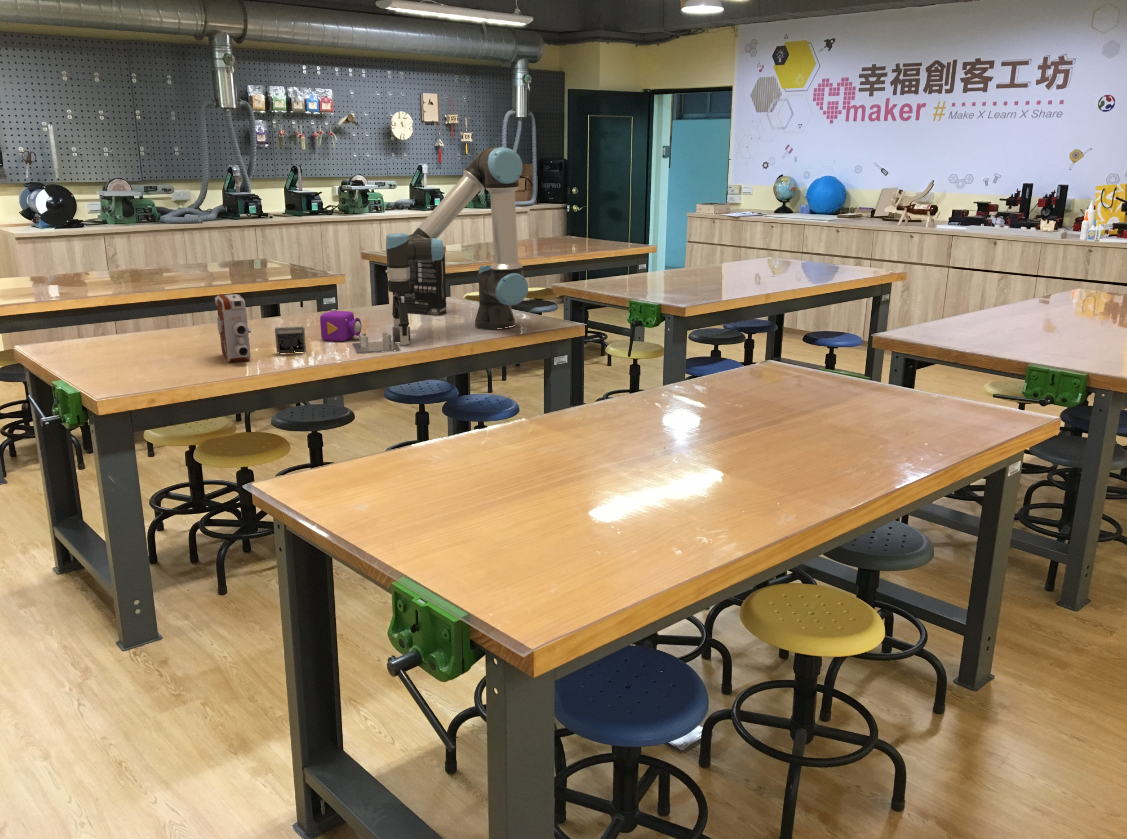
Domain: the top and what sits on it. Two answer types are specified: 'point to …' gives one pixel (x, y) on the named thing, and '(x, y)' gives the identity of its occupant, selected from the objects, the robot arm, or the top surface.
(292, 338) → the electrical switch
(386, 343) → the grey square plate
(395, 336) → the dark grey cylinder
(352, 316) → the toy camera
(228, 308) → the cine camera
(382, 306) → the top surface
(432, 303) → the graphics card box
